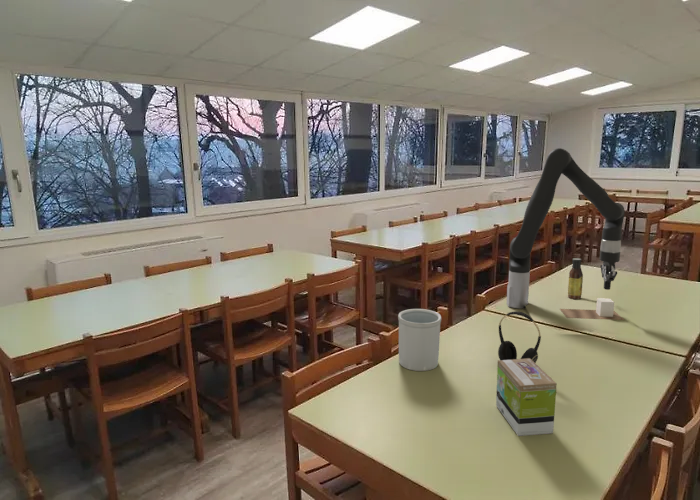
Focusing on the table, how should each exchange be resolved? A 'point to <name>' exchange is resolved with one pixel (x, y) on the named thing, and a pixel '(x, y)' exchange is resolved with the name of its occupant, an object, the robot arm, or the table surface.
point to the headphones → (508, 348)
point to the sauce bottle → (575, 280)
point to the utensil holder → (419, 339)
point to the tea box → (526, 396)
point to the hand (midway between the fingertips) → (606, 289)
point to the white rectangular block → (605, 307)
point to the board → (588, 314)
